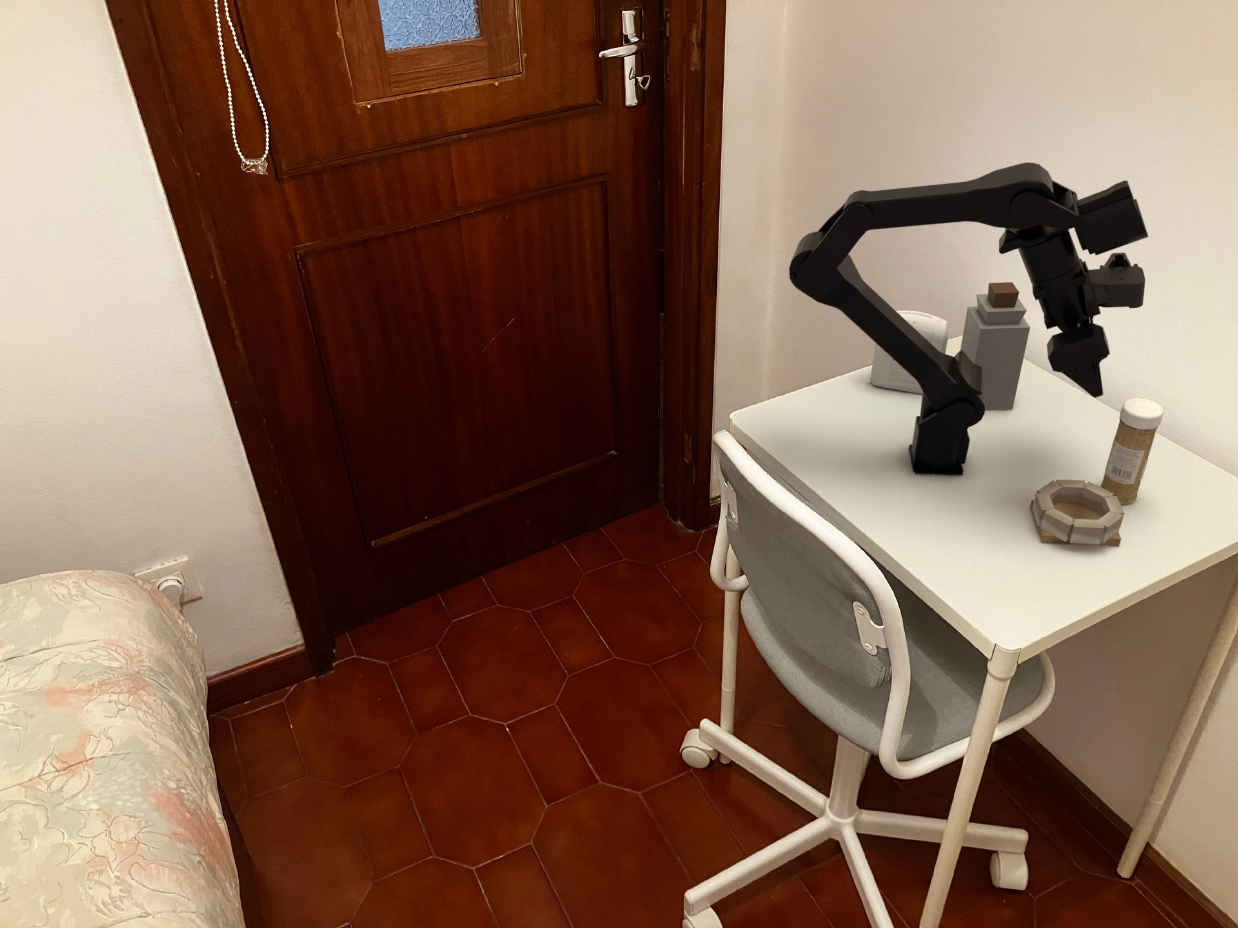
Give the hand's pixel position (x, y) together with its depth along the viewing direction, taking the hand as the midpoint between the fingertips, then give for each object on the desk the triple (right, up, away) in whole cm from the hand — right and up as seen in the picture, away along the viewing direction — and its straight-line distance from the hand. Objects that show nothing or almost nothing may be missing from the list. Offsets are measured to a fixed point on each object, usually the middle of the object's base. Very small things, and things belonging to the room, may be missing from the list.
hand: (1095, 376), depth 125 cm
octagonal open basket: (-2, -18, +1) cm, 19 cm away
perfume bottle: (-5, -1, +26) cm, 27 cm away
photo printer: (-15, +1, +30) cm, 34 cm away
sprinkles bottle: (+6, -15, +6) cm, 17 cm away
